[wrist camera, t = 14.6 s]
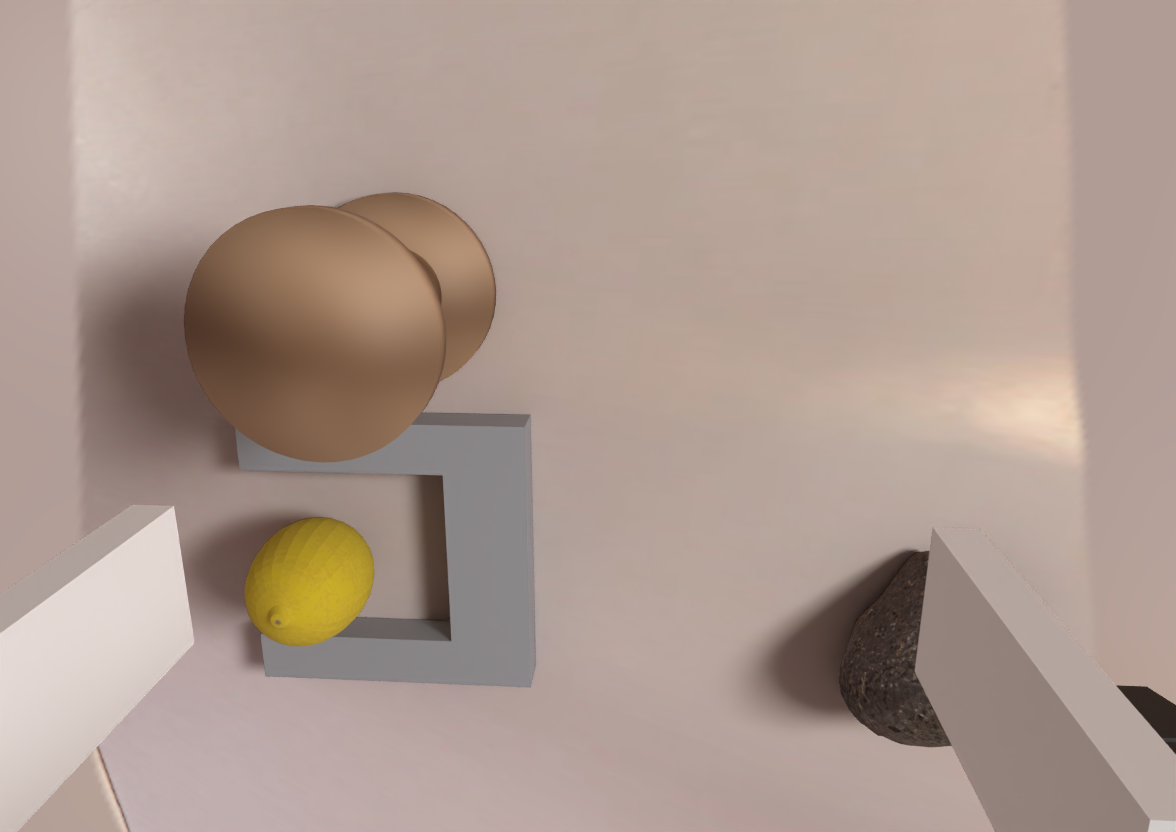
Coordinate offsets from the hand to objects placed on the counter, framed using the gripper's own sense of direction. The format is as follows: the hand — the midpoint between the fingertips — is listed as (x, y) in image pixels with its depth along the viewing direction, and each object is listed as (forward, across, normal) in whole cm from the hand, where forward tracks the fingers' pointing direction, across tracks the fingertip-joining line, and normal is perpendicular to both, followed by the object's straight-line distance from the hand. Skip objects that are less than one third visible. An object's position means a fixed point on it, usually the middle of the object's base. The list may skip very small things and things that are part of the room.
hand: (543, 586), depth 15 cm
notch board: (+27, -11, -12) cm, 31 cm away
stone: (+27, +16, -16) cm, 36 cm away
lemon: (+27, -14, -12) cm, 33 cm away
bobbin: (+27, -10, +1) cm, 29 cm away
